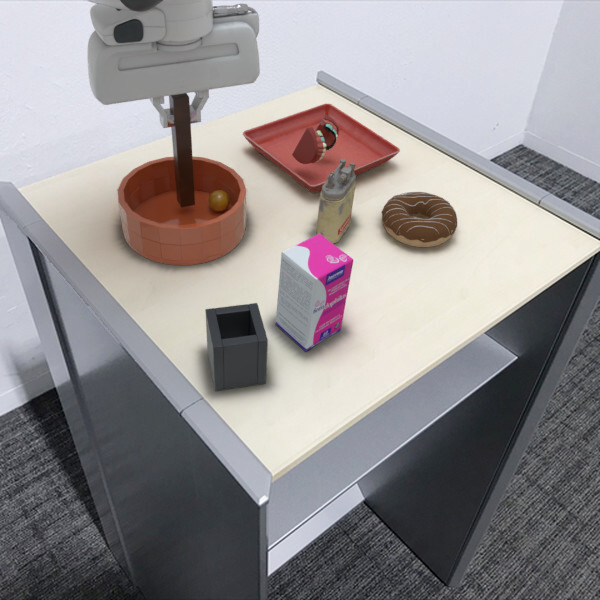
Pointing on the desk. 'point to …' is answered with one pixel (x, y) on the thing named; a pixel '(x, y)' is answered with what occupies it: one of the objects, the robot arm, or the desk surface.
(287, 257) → the supplement box
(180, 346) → the desk surface
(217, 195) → the bead
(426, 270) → the desk surface
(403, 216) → the donut
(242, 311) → the holder
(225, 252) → the bowl
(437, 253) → the desk surface
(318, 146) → the dental model
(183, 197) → the stick
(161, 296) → the desk surface
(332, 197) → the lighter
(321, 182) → the red square tray
